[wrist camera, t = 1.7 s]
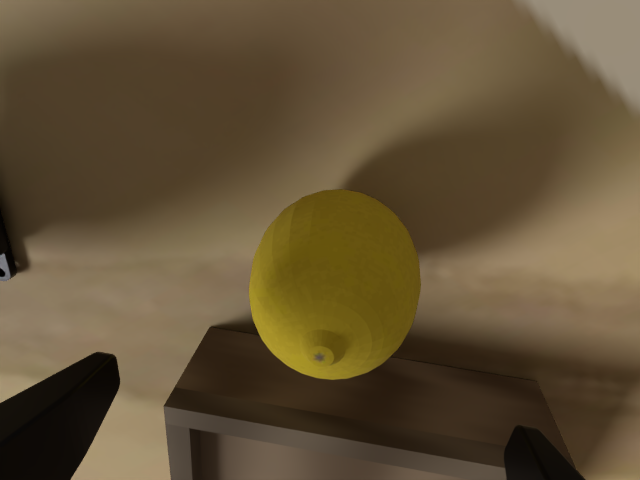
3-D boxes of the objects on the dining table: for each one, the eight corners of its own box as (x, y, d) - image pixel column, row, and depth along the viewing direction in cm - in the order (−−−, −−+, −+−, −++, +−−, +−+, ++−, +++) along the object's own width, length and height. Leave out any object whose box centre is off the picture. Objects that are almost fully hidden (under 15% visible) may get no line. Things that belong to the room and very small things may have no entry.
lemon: (358, 134, 16) (339, 217, 9) (438, 241, 17) (477, 386, 10) (253, 213, 18) (170, 332, 11) (333, 303, 19) (306, 459, 12)
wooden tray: (213, 477, 26) (180, 567, 22) (209, 327, 21) (163, 406, 17) (470, 527, 25) (489, 632, 21) (536, 381, 20) (581, 481, 15)
